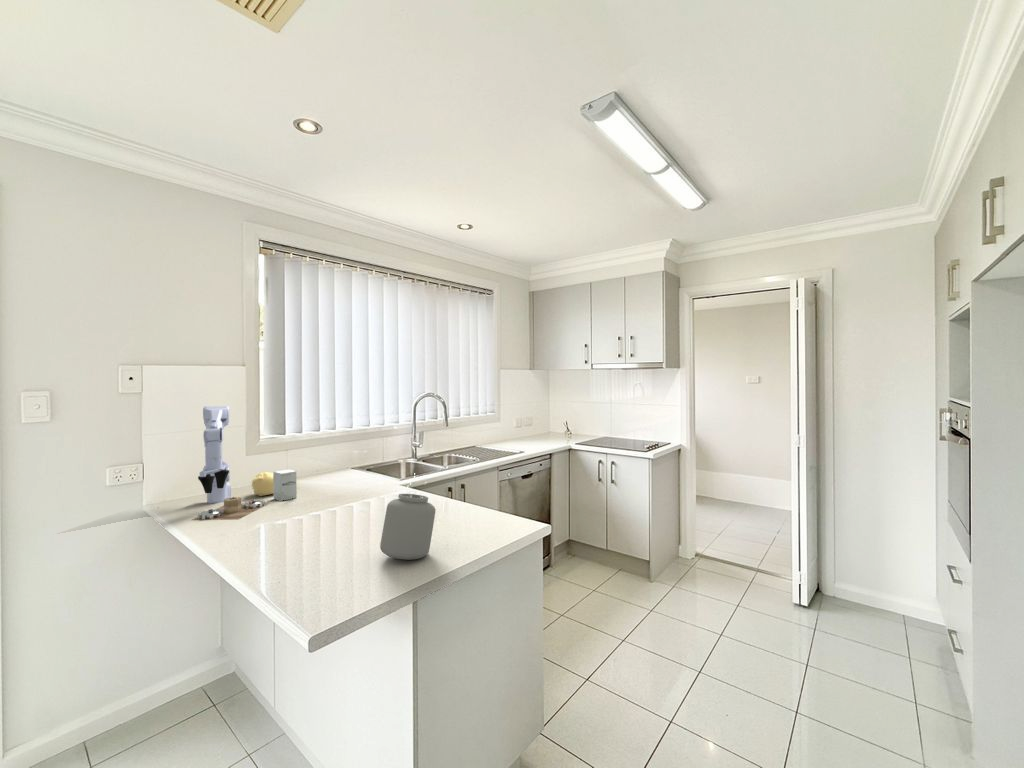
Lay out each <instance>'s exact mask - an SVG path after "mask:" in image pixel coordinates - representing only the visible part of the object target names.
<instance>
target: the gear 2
mask: <svg viewBox="0 0 1024 768" xmlns="http://www.w3.org/2000/svg"><path fill="white" fill-rule="evenodd" d="M265 503H266V502H265V500H263V499H262V500H260V499H257V500H256V499H251V500H249V501H245V502H244V503H243V502H241V504H242V509H245V508H246V509H250V508H253V509H255V508H257V507H262V506H264V505H265ZM264 507H265V506H264ZM262 508H263V507H262Z"/></svg>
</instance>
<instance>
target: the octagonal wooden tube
mask: <svg viewBox="0 0 1024 768" xmlns="http://www.w3.org/2000/svg"><path fill="white" fill-rule="evenodd" d="M241 504H242V497H241V496H231V498H227V499H224V502H223V506H224V512H225V513H235V512H239V511H241Z"/></svg>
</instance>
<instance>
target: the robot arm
mask: <svg viewBox="0 0 1024 768" xmlns="http://www.w3.org/2000/svg"><path fill="white" fill-rule="evenodd" d="M202 417H203V418H202V419H203V424H204V427H205V429H204V430H203V442H204V448H205V450H204V452H205V453H204V454H205V455H204V458H205V465H204V466H203V468H202V469H203V470H202V471H199V476H197V479H198V481H199V482H200V483H201V485H202V488H203V491H204V493H205V494H206V503H207V504H217V503H224V499H227V498H231V497H232V486H231V484H230V483H229V482H230V481H231V480H230V479H231V478H230V477H231V476H230V474H231V473H230V472H231V471H230V465H229V463H228V462H226V461H223V441H224V428H225V427H226V426H228V425H229V422H230V406H229V405H221V406H215V405H214V406H203V408H202Z"/></svg>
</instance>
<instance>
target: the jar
mask: <svg viewBox="0 0 1024 768" xmlns="http://www.w3.org/2000/svg"><path fill="white" fill-rule="evenodd" d="M415 475H416V473H415V472H414V475H413V478H416V476H415ZM416 483H419V481H417V482H416ZM426 483H428V482H427V481H425V484H426ZM409 485H412V482H411V483H409ZM409 485H407V486H406V487H407V490H408V489H409ZM403 492H406V490H404V491H403ZM397 496H398V497H397ZM396 497H397V499H396V498H395V499H392V500H391V501H389V502H388V503H387V506H386V509H385V516H384V520H383V527H382V532H381V538H380V543H379V545H380V546H379V549H380V550H381V552H382V553H383V554H384V555H386V556H388V557H390V558H392V559H399V560H407V561H408V560H411V561H412V560H420V559H423V558H424V557H425V556H427V555H428V554H429V553H430V549H431V548H430V547H431V543H432V539H433V538H434V537H433V530H434V524H435V523H434V522H435V517H436V507H435V506H434V505H433V504H432V503H430V502H429V497H428V496H425V495H420V494H417V493H416V494H414V493H399V494H398V495H396ZM436 535H437V534H435V536H436Z"/></svg>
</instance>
